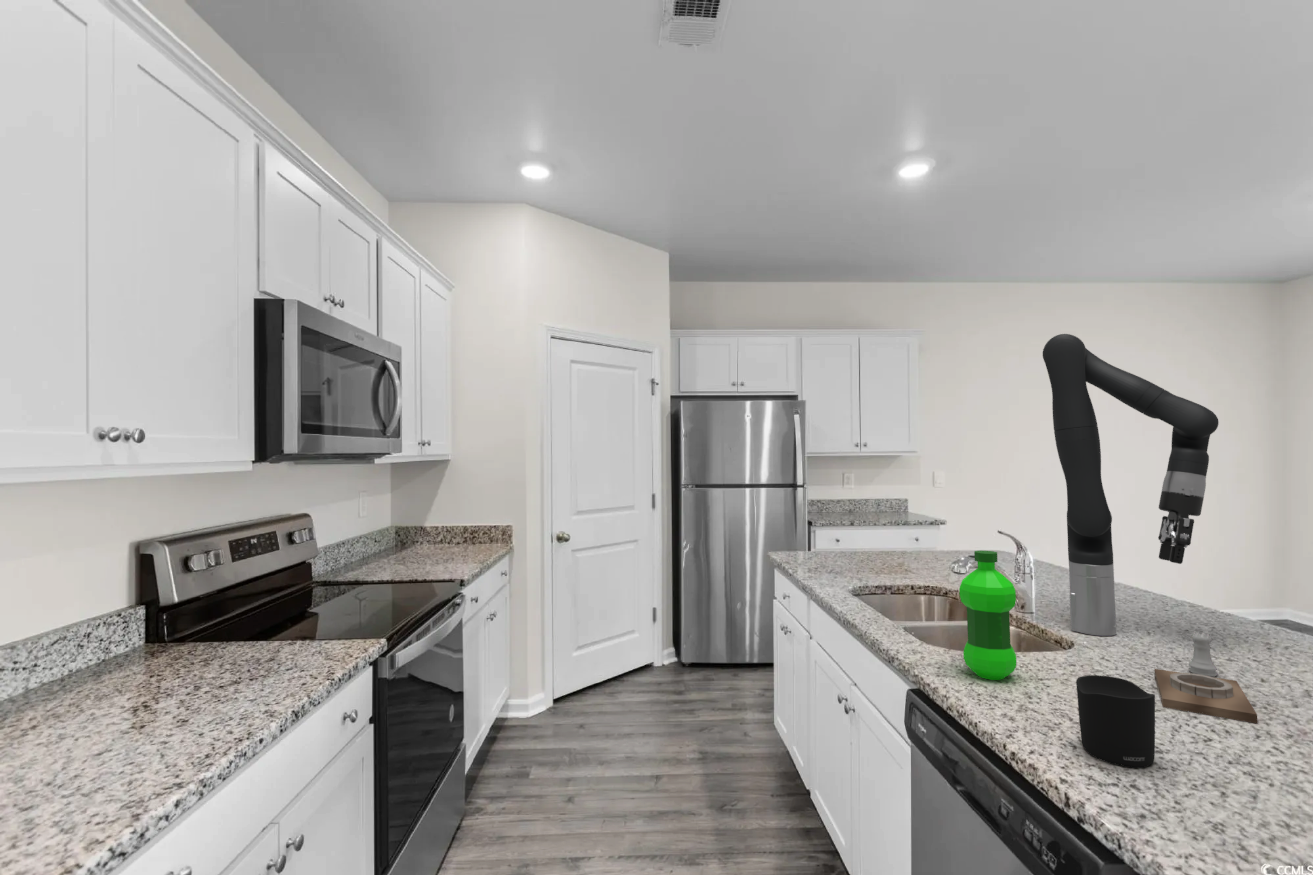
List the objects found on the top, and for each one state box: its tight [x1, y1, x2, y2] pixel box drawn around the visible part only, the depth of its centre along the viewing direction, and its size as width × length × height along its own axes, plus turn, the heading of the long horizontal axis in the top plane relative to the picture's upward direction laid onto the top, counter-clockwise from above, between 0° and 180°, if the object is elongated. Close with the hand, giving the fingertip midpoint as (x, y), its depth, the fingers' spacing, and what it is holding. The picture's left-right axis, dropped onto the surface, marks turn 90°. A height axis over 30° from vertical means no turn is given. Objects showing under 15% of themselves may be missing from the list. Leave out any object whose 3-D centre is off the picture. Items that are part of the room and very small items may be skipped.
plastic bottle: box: [958, 550, 1017, 681], centre depth 124 cm, size 10×10×25 cm
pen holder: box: [1075, 674, 1156, 769], centre depth 91 cm, size 9×9×10 cm
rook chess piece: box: [1188, 631, 1219, 678], centre depth 122 cm, size 4×4×8 cm
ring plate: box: [1153, 668, 1258, 724], centre depth 110 cm, size 12×18×3 cm, turn 144°
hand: (1169, 561), depth 141 cm, fingers open, 8 cm apart
